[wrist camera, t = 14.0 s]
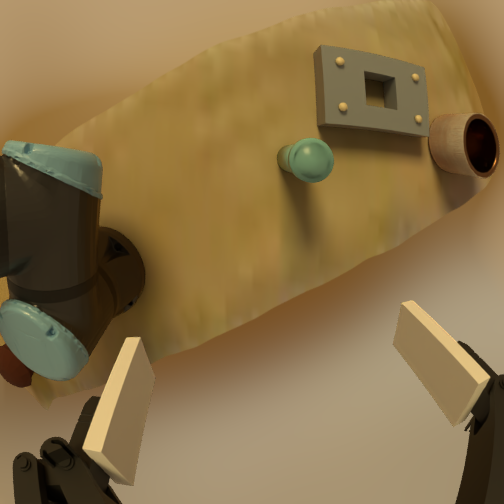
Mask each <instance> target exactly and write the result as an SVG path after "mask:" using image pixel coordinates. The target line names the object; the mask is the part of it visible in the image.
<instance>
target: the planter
mask: <svg viewBox="0 0 504 504" xmlns="http://www.w3.org/2000/svg"><path fill="white" fill-rule="evenodd" d="M429 135H430V137H429V147H430V151H431V154H432V157H433V159H434V161H435V162H436V164H437V165H438V166H439V167H440V168H441V169H443V170H444V171H446V172H449V173H455V174H461V175H467V176H472V177H477V178H482V179H485V178H488V177H490V176H491V175H492V174H493V173H494V172H495V170H496V168H497V165H498V162H499V155H500V147H499V140H498V136H497V133H496V130H495V128H494V126H493V124H492V123H491V121H490V120H489V119H488V118H487V117H486V116H484V115H483V114H480V113H462V114H444V115H441V116H438V117H437V118H436V119H435V120H434V121H433V123H432V124H431V127H430V131H429Z"/></svg>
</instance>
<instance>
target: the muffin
mask: <svg viewBox="0 0 504 504" xmlns="http://www.w3.org/2000/svg"><path fill="white" fill-rule="evenodd" d="M33 373H34V371H32V370H31V369H30V368H28V367H27V366H26V365H25V364H23V363H22V362H21V361H20V360H19V359H18V358H17V357H16V356H15V355H14V354H13V352H12V351H11V350H10V349H9V347H8V346H7V344H4V345H3V346H0V374H1V375H2V376H3V378H4V379H6V381H7V382H9V383H10V384H12V385H14V386H17V387H26V386H29V385H31V381H32V379H31V377H32V375H33Z"/></svg>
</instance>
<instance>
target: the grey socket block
mask: <svg viewBox="0 0 504 504" xmlns="http://www.w3.org/2000/svg"><path fill="white" fill-rule="evenodd" d="M313 55H314V69H315V85H316V106H317V126H327V127H341V128H352V129H362V130H371V131H379V132H387V133H394V134H401V135H407V136H413V137H430V135H429V110H428V96H427V85H426V76H425V68H424V67H421V66H418V65H414V64H411V63H408V62H404V61H401V60H397V59H393V58H389V57H385V56H381V55H377V54H372V53H368V52H363V51H357V50H352V49H346V48H340V47H333V46H326V45H320V46H319V47H318V49H317V50H316V51H315V52H314V53H313ZM365 79H369V80H375V81H380V82H383V89H384V104H385V108H382V107H376V106H370V105H366V91H365Z"/></svg>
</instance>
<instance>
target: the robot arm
mask: <svg viewBox="0 0 504 504" xmlns="http://www.w3.org/2000/svg"><path fill="white" fill-rule="evenodd" d="M2 153H3V155H2V156H0V278H1V277H6V276H7V283H8V289H9V299H7V300H6V301H4V302H3V303H2V306H1V308H0V333H1V335H2V337H3V339H4V341H5V343H6V344H7V346H8V347H9V349H10V350H11V351H12V352H13V354H14V355H15V356H16V357H17V358H18V359H19V360H20V361H21V362H22V363H23V364H25V365H26V366H27V367H28V368H30V369H31V370H32V371H34V372H36V373H37V374H39V375H41V376H43V377H46V378H48V379H51V380H56V381H66V380H69V379H71V378H74V377H75V376H76V375H77V374H78V373H79V372H80V371H81V369H82V368H83V367H84V365H86V364H87V362H88V360H89V356H90V355H91V353H92V351H93V350H94V348H95V346H96V344H97V343H98V341H99V339H100V338H101V336H102V335H103V333H104V331H105V330H106V328H107V326H108V325H109V323H110V322H111V320H112V318H114V317H116V316H118V315H120V314H122V313H124V312H125V311H127V310H129V309H130V308H131V307H132V306H133V305H134V304H135V303H136V301H137V299H138V298H139V296H140V294H141V293H142V290H143V287H144V283H145V270H144V265H143V262H142V259H141V257H140V254H139V253H138V251H137V249H136V248H135V246H134V245H133V244H132V243H131V242H130V240H129V239H127V238H126V237H125V236H124V235H122V234H121V233H119V232H118V231H116V230H113V229H111V228H107V227H99V217H100V203H101V200H102V198H103V195H102V194H101V185H102V171H103V167H102V163H101V161H100V159H99V158H98V157H97V156H96V155H95V154H93V153H90V152H85V151H80V150H74V149H69V148H63V147H56V146H50V145H43V144H34V143H27V142H20V141H7V142H6V143H5V145H4V148H3V149H2ZM393 345H394V347H395V348H396V349H397V350H398V352H399V353H400V354H401V355H402V357H403V358H404V360H405V361H406V362H407V363H408V365H409V366H410V367H411V369H412V370H413V371H414V373H415V374H416V375H417V377H418V378H419V380H420V381H421V382H422V383H423V385H424V386H425V388H426V389H427V390H428V392H429V393H430V395H431V396H432V397H433V399H434V400H435V401H436V403H437V404H438V406H439V407H440V409H441V410H442V411H443V413H444V414H445V415H446V417H447V418H448V420H449V421H450V423H451V424H452V426H453V427H454V426H456V425H458V424H459V423H461V422H463V421H464V420H465V419H466V418H467V417H468V415H469V413H470V412H471V413H472V414H473V415H474V416H473V417H472V419H471V420H470V422H469V423H468V425H467V426H466V427H465V430H464V431H467V429H468V428H469V427H470V430H469V432H470V435H469V443H468V449H467V456H466V461H465V466H464V471H463V476H462V480H461V484H460V488H459V492H458V496H457V500H456V503H455V504H504V375H499V376H498V375H497V374H496V373H495V372H494V371H493V370H492V369H491V368H490V367H489V366H488V365H487V364H486V363H485V362H484V361H483V360H482V359H481V358H479V356H478V355H477V354H476V353H474V351H473V350H472V349H471V348H470V347H469V346H468V345H467V344H465V343H463V342H461V341H458V342H456V341H455V340H454V339H453V338H452V337H451V336H450V335H449V334H448V333H447V332H446V331H445V330H444V329H443V328H442V327H440V326H439V324H438V323H436V322H435V321H434V320H433V319H432V318H431V317H430V316H429V315H428V314H427V313H426V312H425V311H424V310H423V309H422V308H420V307H419V306H418V305H417V304H416V303H415V302H414V301H408V302H403V303H401V308H400V313H399V318H398V323H397V328H396V333H395V337H394V341H393ZM154 383H155V375H154V373H153V370H152V367H151V365H150V362H149V359H148V357H147V354H146V351H145V348H144V346H143V343H142V340H141V337H128V338H126V340H125V342H124V344H123V346H122V348H121V351H120V353H119V355H118V358H117V360H116V362H115V364H114V367H113V369H112V371H111V374H110V376H109V379H108V381H107V384H106V386H105V388H104V391H103V393H102V396H101V397H96V396H92V397H91V398H90V399H89V400H88V401H87V402H86V403H85V405H84V407H83V410H82V412H81V415H80V417H79V419H78V423H77V424H76V427H75V430H74V432H73V435H72V437H71V440H70V442H69V444H68V443H67V441H66V440H64V439H63V438H61V437H52V438H49V439H48V440H46V441H45V442H44V443H43V445H42V446H41V449H40V457H41V458H42V459H37V458H36V457H35V456H33V454H31V453H29V452H23V453H20V454H18V455H17V456H16V457H15V459H14V461H13V484H14V497H15V504H122V503H121V501H120V500H119V499H118V497H117V496H116V494H115V492H114V491H113V489H112V488H111V486H110V485H109V484H108V483H109V479H110V478H111V479H112V480H113V481H114V482H115V483H117V484H124V485H130V486H133V484H134V478H135V473H136V467H137V462H138V456H139V450H140V446H141V441H142V436H143V431H144V426H145V422H146V417H147V413H148V408H149V404H150V399H151V395H152V391H153V387H154ZM470 425H471V426H470Z"/></svg>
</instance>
